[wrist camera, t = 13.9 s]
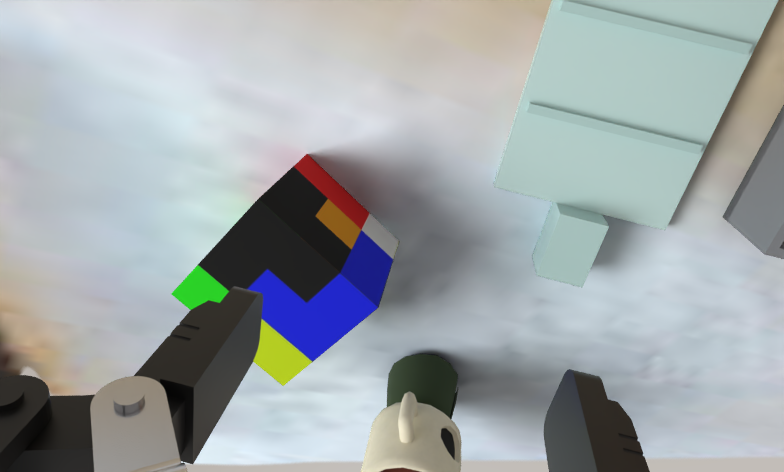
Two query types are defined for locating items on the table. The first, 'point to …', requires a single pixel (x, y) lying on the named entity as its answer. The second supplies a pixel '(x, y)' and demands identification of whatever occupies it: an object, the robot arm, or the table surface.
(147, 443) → the robot arm
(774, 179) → the tub
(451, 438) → the character mug
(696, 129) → the lid
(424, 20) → the table surface
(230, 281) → the puzzle toy
